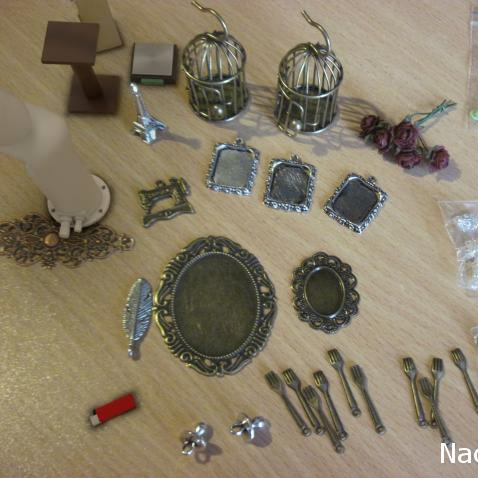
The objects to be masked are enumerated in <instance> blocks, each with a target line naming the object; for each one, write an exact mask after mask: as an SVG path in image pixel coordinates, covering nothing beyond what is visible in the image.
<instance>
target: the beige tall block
mask: <svg viewBox="0 0 478 478" xmlns="http://www.w3.org/2000/svg"><path fill="white" fill-rule="evenodd" d="M69 1H70V2H74V5H75V7H76V9H77V11H76V15H77V17H78V20H79V22H82V23H99V25H100V30H99V37H98V44H97V52H96V53H99V52H102V51H106V50H110V49H114V48H117V47H120V46H122V45H123V44H122V40H121V37H120V34H119V31H118V28H117V26H116V22H115V20H114V19H115V18H114V16H113V14H112V11H111V8H110V5H109V2H108V0H69Z"/></svg>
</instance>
